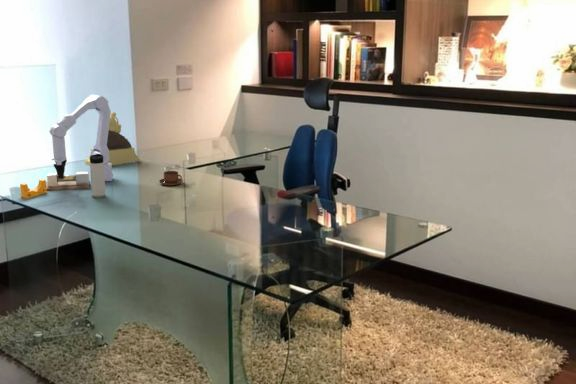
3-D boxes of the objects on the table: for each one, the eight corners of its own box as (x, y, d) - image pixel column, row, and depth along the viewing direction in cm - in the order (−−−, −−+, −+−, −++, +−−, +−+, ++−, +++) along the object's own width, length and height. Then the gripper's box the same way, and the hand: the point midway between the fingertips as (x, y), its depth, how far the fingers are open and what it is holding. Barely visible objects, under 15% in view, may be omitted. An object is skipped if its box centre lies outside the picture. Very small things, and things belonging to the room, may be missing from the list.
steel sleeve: (89, 182, 329) (88, 171, 327) (88, 184, 324) (88, 173, 323) (76, 182, 327) (76, 172, 326) (76, 185, 323) (75, 174, 321)
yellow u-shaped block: (26, 198, 302) (25, 185, 300) (21, 197, 304) (20, 184, 302) (49, 193, 311) (47, 180, 309) (43, 192, 313) (42, 179, 312)
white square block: (58, 183, 325) (57, 172, 323) (57, 185, 320) (56, 175, 319) (48, 183, 324) (47, 173, 322) (47, 186, 319) (46, 175, 318)
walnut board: (89, 181, 333) (89, 179, 333) (88, 188, 320) (88, 186, 320) (46, 183, 328) (46, 181, 328) (43, 190, 315) (43, 188, 315)
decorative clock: (129, 157, 391) (127, 108, 383) (139, 161, 381) (137, 111, 373) (85, 163, 373) (81, 112, 365) (94, 167, 364) (91, 115, 356)
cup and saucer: (184, 181, 339) (184, 170, 337) (181, 187, 327) (181, 175, 325) (161, 181, 338) (161, 169, 336) (157, 187, 327) (157, 175, 325)
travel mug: (107, 194, 311) (104, 153, 306) (103, 198, 304) (101, 156, 299) (94, 194, 311) (91, 153, 305) (90, 197, 304) (87, 156, 299)
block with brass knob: (79, 180, 326) (78, 167, 325) (79, 181, 323) (78, 169, 322) (51, 181, 323) (50, 168, 321) (50, 183, 320) (49, 170, 318)
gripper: (51, 146, 324) (53, 172, 328) (49, 152, 311) (51, 179, 314) (66, 146, 326) (68, 172, 329) (64, 152, 312) (66, 179, 316)
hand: (61, 176), depth 322 cm, fingers open, 7 cm apart
